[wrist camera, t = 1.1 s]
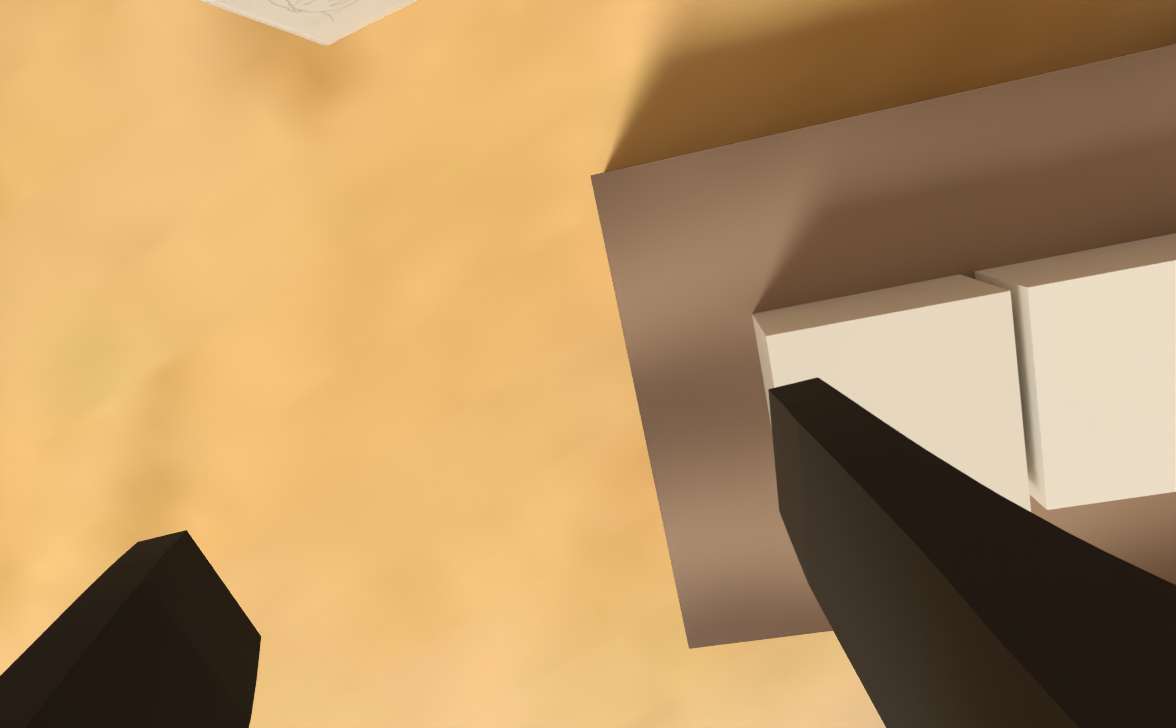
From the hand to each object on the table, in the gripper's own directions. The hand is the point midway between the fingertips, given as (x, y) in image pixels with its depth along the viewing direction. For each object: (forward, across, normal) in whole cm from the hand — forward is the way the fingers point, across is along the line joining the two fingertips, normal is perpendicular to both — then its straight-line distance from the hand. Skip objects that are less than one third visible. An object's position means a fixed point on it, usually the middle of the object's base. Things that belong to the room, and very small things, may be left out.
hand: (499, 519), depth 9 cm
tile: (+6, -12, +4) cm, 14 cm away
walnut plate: (+9, -10, +6) cm, 14 cm away
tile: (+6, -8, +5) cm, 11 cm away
